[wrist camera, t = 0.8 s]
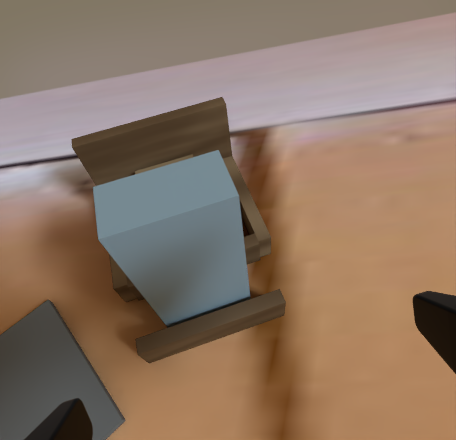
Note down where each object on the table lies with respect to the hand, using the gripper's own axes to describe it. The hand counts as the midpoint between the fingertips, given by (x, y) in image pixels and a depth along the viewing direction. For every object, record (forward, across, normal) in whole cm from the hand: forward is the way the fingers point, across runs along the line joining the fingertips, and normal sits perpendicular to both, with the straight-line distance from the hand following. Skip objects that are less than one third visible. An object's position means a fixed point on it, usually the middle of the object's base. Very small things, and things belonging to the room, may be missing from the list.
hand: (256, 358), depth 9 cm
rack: (+19, +2, +3) cm, 20 cm away
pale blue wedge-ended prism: (+16, +2, +6) cm, 17 cm away
